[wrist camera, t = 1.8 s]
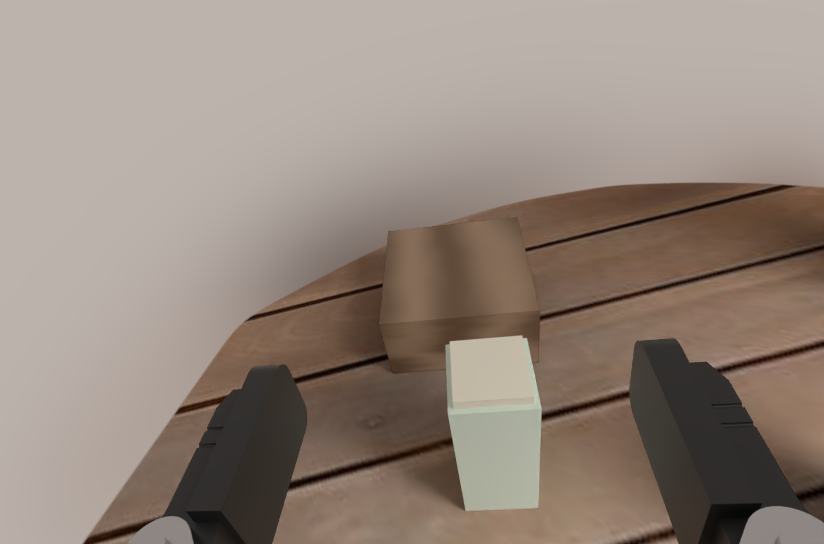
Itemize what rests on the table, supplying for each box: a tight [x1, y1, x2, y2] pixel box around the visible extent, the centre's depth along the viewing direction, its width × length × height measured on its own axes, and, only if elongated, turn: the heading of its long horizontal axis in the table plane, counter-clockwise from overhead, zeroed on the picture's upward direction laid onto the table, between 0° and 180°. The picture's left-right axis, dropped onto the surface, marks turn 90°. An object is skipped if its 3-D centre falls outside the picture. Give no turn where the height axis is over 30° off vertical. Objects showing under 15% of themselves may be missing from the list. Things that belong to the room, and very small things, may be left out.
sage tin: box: [445, 335, 542, 511], centre depth 29 cm, size 5×5×12 cm
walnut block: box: [379, 217, 540, 373], centre depth 43 cm, size 12×12×6 cm
